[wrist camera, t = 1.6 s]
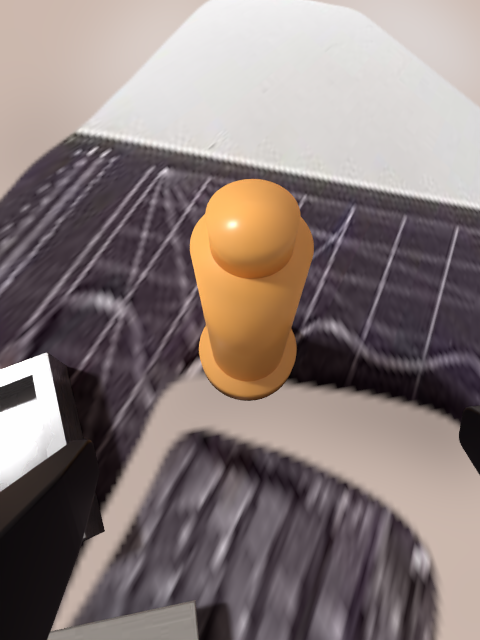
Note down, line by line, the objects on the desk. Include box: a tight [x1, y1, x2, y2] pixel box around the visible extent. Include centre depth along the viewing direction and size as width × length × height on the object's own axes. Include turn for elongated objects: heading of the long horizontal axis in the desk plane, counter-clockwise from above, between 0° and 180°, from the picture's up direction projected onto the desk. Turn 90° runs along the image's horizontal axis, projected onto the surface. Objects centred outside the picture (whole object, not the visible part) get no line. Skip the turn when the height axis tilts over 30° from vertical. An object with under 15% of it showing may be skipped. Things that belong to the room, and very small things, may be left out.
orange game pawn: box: [190, 179, 314, 401], centre depth 17 cm, size 6×6×13 cm
